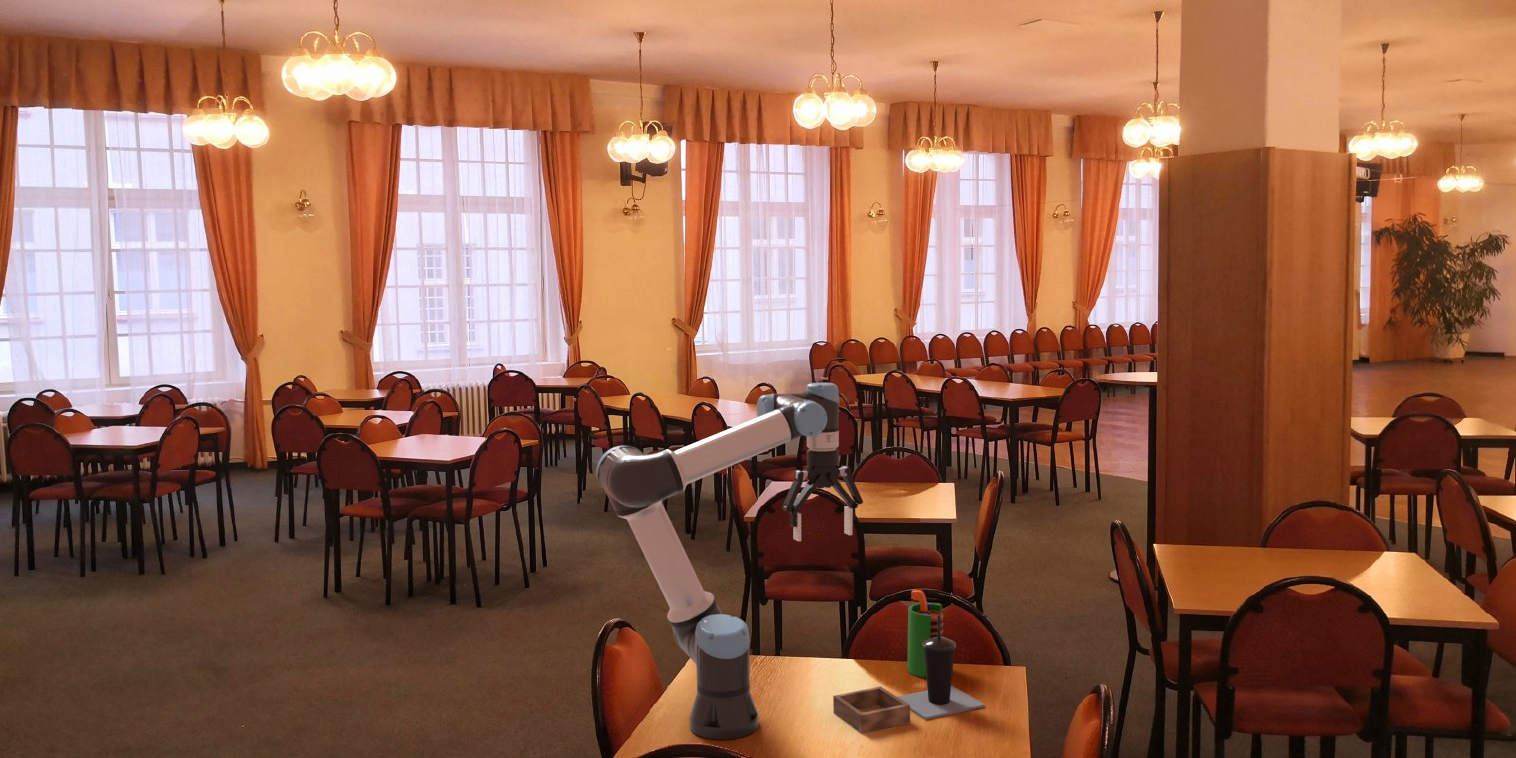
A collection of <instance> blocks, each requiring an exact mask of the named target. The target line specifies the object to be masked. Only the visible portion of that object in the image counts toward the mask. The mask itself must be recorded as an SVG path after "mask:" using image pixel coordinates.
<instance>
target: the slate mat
mask: <svg viewBox="0 0 1516 758" xmlns="http://www.w3.org/2000/svg"><path fill="white" fill-rule="evenodd" d="M897 697H898V698H900V699H901V700H903V701H904V702H906V703H907V704H909V705H910V712H912V713H914V714H916V715H917V716H918V717H920V718H922V719H923V720H925V721H927V720H932V719H936V718H940V717H945V716H950V715H955V714H959V713H963V712H967V711H972V710H977V708H978V709H981V708H982V709H983V708H985V707H986V706H985V705H986V704H985V703H982V702H981V701H980V700H978V699H976V698H975V697H973V696H971V695H969V694H967V693H965V692H963V691H962V690H960V689H959V688H957V687H955V686H954V685H952V684H951V692H950V702H949V703H948V704H944V705H936V704H932V703H930V702H929V700H928V690H927V689H926V690H922V691H918V692H917V691H916V692H913V693H908V694H903V695H899V696H897Z"/></svg>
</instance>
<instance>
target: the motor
mask: <svg viewBox="0 0 1516 758" xmlns="http://www.w3.org/2000/svg"><path fill="white" fill-rule="evenodd" d="M910 596H911V597H910V600H911V599H913V600H912V601H918V603H913V604H911V605H910V606H908V613H907V614H908V617H907V618H908V619H907V621H908V623H907V671H908V673H909V674H911V675H912V676H915V677H920V678H925V677H926V668H925V657H924V647H923V646H922V642H923V641H924V640H926V639H929V638H932V637H938V616H941V637H944V634H943V633H944V627H943V626H944V620H943V619H944V613H943V604H940V603H932V602H928V601H927V597H926V594H925V593H924V591H923V590H921V589H915V590H912V591H911V593H910Z"/></svg>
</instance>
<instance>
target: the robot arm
mask: <svg viewBox="0 0 1516 758" xmlns="http://www.w3.org/2000/svg"><path fill="white" fill-rule="evenodd" d="M839 411H840V394H839V387H838V385H837V384H835V383H832V382H811V383H808V384H807V385H806V389H805V391H804V392H797V393H794V392H793V393H771V394H763V395H761V396H759V398H758V400H757V403H756V416H757V417H755V418H752V419H750V420H747V421H745V422H743V423H740V424H738V425H735V426H733V427H730V428H728V429H726V430H725V429H724V430H723V431H720V432H717V433H716V434H713V435H710V436H709V437H706V438H703V439H700V440H699V441H698V440H697V441H696V442H693V443H691V444H689V445H686V446H683V447H681V448H678V449H677V450H674V451H673V450H670V449H668V448H667V449H664V450H662V451H658V452H655V453H652V454H651V453H649V454H645V453H643V452H642V451H641V450H640V449H638V448H637V447H634V446H630V445H618V446H614V447H612V448H610V449H608V450H607V451H605V452H604V453H603V455H602V456H601V457H600V458H599V461H598V463H597V465H596V471H595V472H596V479H597V482H598V485H599V487H600V489H602V490H603V491H604V492H605V494H606V495H607V499H608V500H609V502H610V504H611V506H612V508H613V510H614V512H615V515H616V516H617V517H619V518H621V519H625V520H627V522H628V524H629V527H630V529H631V531H632V533H633V534H634V538H635V539H636V541H637V543H638V546H639V548H640V549H641V551H642V553H643V555H644V558H645V560H646V562H647V564H648V566H649V568H650V569H651V571H652V574H653V576H654V578H655V580H656V581H657V584H658V586H659V588H660V591H661V592H662V594H663V596H664V598H665V600H666V603H667V604H668V607H669V610H668V613H667V616H666V617H667V620H668V621H669V624H670V626H671V627H672V632H673V637H674V641H675V642H676V644H677V646H678V647H679V648H680V649H681V651H683V652H684V653H685V654H686V655H687V657H689V658H690V659H691V661H692V662H693V663H694V664H695V666H696V694H695V695H696V696H695V698H694V702H693V704H692V708H691V711H690V715H689V729H690V731H691V732H692V733H693V734H694V735H697V736H699V737H702V738H704V739H708V740H709V739H710V740H719V741H721V740H734V739H738V738H742V737H746V736H749V735H751V734H752V733H754V732H755V731H756V730H757V729H758V728H759V713H758V710H757V708H756V704H755V702H754V699H753V696H752V693H751V683H750V681H751V677H750V672H751V670H750V669H751V667H750V661H751V660H750V644H751V643H750V642H751V637H750V633H749V627H748V625H747V623H746V622H745V621H744V620H743V619H741V618H739V617H737V616H732V615H730V614H723V612H722V611H721V608H720V607H719V604H718V602H717V599H716V598H715V595H714V594H713V593H711V592H709V591H706V590H704V587H702V585H701V582H700V580H699V578H698V576H697V574H696V571H695V570H694V569H695V568H694V567H693V565H692V563H691V561H690V559H689V557H688V555H687V553H686V550H685V548H684V547H683V545H682V542H681V540H680V538H679V536H678V533H677V532H676V530H675V527H674V526H673V523H672V521H671V519H670V517H669V515H668V513H667V511H666V508H665V507H664V503H663V501H664V500H667V499H669V498H670V497H672V496H675V495H677V494H680V493H683V492H684V491H685V490H686V487H687V485H689V484H691V483H693V482H696V481H698V480H700V479H703V478H704V477H708V476H710V475H712V474H715V473H717V472H720V471H721V470H725V469H727V468H729V467H732V466H735V465H736V464H738V463H741V462H743V461H746V460H748V459H751V458H753V457H755V456H757V455H759V454H762V453H764V452H766V451H769V450H771V449H774V448H776V447H778V446H781V445H784V444H786V443H788V442H790V441H793V440H795V439H798V438H800V437H803V436H804V437H806V447H807V448H808V449H807V450H806V464H807V465H806V466H807V468H806V470H805V471H803V470H799V469H796V470H795V471H794V475H793V477H794V478H793V481H792V483H791V486H790V488H789V490H788V493H787V495H786V498H785V499H784V502H783V504H782V506H781V509H782V510H783V511H786V512H788V513H789V526H790V527H792V529H793V536H792V537H793V540H795V541H797V542H802V513H800V512H799V511H800V510H801V509H802V507H803V506H804V504H805V503H806V501H808V499H809V497H810V496H811V494H812V493H813V492H815V491H816V489H819V490H820V489H824V488H827V489H829V488H830V489H831V487H832V488H833V489H834V490H835V491H836V493H837V494H838V495H839V496H840V498H841V499H842V501H844V503H845V504H846V505H847V506H845V505H844V507H843V508H844V510H843V511H844V512H843V513H844V517H843V518H844V519H843V521H844V522H843V523H844V525H843V526H844V528H843V529H844V530H843V532H844V534H846V535H848V536H853V521H856V509H857V508H858V507H859V505H862V504H863V503H864V500H863V498H862V496H861V494H860V491H859V489H858V487H857V484H856V483H855V481H854V478H853V476H852V469H851V467H849V466H846V465H842V466H841V467H840V468H839V464H840V451H839V449H838V448H839V446H840V444H839V443H840V441H839V440H840V439H839V437H840V436H839V435H840V434H839V433H840V431H839V430H840V428H839V420H840V419H839V418H840V415H839V414H840V413H839ZM839 476H841V477H842V478H843V480H844V484H845V485H846V487H847V489H848V492H849V493H850V494H849V493H848V492H847V491H846V489H845V488H844V487H843V486H842V484H841V482H840V481H839V480H838V478H839ZM806 478H807V481H806V483H805V484H804V487H803V488H802V490H801V487H802V486H803V483H804V481H805V479H806ZM800 490H801V492H800ZM799 492H800V493H799Z"/></svg>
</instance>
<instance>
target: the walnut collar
mask: <svg viewBox="0 0 1516 758" xmlns="http://www.w3.org/2000/svg"><path fill="white" fill-rule="evenodd" d="M832 697H833V699H832V700H833V707H832V708H833V710H832V711H833V714H834V715H836V716H837V717H838V718H840V720H842V721H844V722H845V723H847V724H848V725H849V726H850V727H852V728H854V730H856V731H858V732H859V733H860V734H864V733H870V732H874V731H879V730H883V729H888V728H893V727H897V726H901V725H905V724H906V725H907V724H910V723H911V710H910V705H909V704H907V703H906V702H904V701H903V700H901V699H900V698H898V696H896V695H895V694H893V693H891V692H890V691H889V690H887V689H886V688H884V687H882V686H875V687H871V688H866V689H861V690H856V691H855V690H854V691H852V692H851V691H850V692H846V693H842V694H841V693H840V694H837V695H832ZM873 707H881V708H882V709H876V710H871V711H867V712H862V711H861V710H864V709H869V708H873Z"/></svg>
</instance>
